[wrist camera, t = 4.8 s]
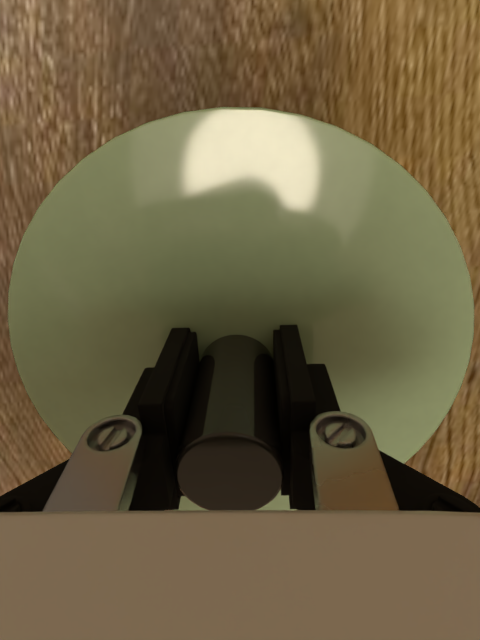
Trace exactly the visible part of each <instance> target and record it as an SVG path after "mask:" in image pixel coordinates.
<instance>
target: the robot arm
mask: <svg viewBox="0 0 480 640" xmlns="http://www.w3.org/2000/svg"><path fill="white" fill-rule="evenodd" d="M273 361H274V372H275V383H276V393H277V404H278V414H279V425H280V436H281V446H282V450H283V460H284V471H285V477H284V482H283V485H282V487H281V496H287V495H289V504H290V509H297V510H192V511H164V510H178V509H179V504H180V499H181V496H185V495H184V494H183V493H182V491H181V490H180V488H179V486H178V484H177V481H176V478H175V471H174V468H175V462H176V458H177V454H178V450H179V446H180V441H181V437H182V433H183V429H184V425H185V421H186V417H187V413H188V409H189V405H190V401H191V397H192V392H193V388H194V384H195V380H196V376H197V372H198V368H199V364H200V360H199V351H198V341H197V334H196V332H191V331H190V328H172V329H171V331H170V333H169V335H168V338H167V340H166V342H165V344H164V347H163V349H162V351H161V353H160V356H159V358H158V360H157V362H156V365H155V367H149V368H145V369H144V371H143V373H142V375H141V377H140V379H139V381H138V383H137V385H136V387H135V389H134V391H133V393H132V395H131V397H130V399H129V401H128V403H127V405H126V408H125V410H124V412H123V414H122V415H113V416H109V417H106V418H103V419H101V420H99V421H97V422H95V423H93V424H92V425H91V426H90V427H88V428H87V429H86V430H85V432H84V433H83V435H82V436H81V438H80V440H79V442H78V444H77V446H76V448H75V449H74V451H73V453H72V455H71V457H70V459H68V460H67V461H65V462H63V463H61V464H59V465H57V466H56V467H54V468H52V469H50V470H48V471H46V472H44V473H43V474H41V475H39V476H37V477H35V478H33V479H32V480H30V481H28V482H26V483H24V484H22V485H20V486H19V487H17V488H15V489H13V490H11V491H9V492H7V493H6V494H4V495H2V496H0V640H480V508H479V507H478V506H477V505H476V504H474V503H473V502H471V501H470V500H468V499H467V498H465V497H464V496H462V495H460V494H458V493H456V492H454V491H453V490H451V489H449V488H447V487H445V486H444V485H442V484H440V483H438V482H436V481H434V480H433V479H431V478H429V477H427V476H425V475H423V474H422V473H420V472H418V471H416V470H414V469H413V468H411V467H409V466H407V465H405V464H403V463H402V462H400V461H398V460H396V459H394V458H393V457H391V456H389V455H387V454H385V453H383V452H382V451H380V450H379V449H378V447H377V444H376V441H375V438H374V435H373V432H372V430H371V428H370V427H369V425H368V424H367V423H366V422H365V421H364V420H363V419H361V418H359V417H357V416H355V415H353V414H350V413H347V412H341V411H340V408H339V405H338V402H337V398H336V395H335V392H334V389H333V386H332V383H331V380H330V377H329V374H328V371H327V368H326V366H325V364H307V363H306V359H305V355H304V351H303V347H302V342H301V338H300V334H299V330H298V326H297V325H280V330H273Z"/></svg>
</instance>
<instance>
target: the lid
mask: <svg viewBox="0 0 480 640" xmlns="http://www.w3.org/2000/svg"><path fill="white" fill-rule="evenodd" d="M8 325H9V333H10V342H11V348H12V351H13V355H14V359H15V362H16V366H17V370H18V372H19V375H20V377H21V380H22V382H23V384H24V387H25V389H26V391H27V394H28V396H29V397H30V399H31V401H32V403H33V404H34V406H35V408H36V409H37V411H38V413H39V415H40V416H41V418H42V419H43V420H44V422H45V423H46V424H47V426H48V427H49V428H50V430H51V431H52V432H53V434H54V435H55V436H56V437H57V438H58V439H59V440H60V441H61V442H62V444H63V445H64V446H65V447H66V448H67V449H68V450H69V451H70V452H71V453H73V451H74V449H75V448H76V446H77V444H78V442H79V440H80V438H81V436H82V435H83V433H84V432H85V430H86V429H87V428H88V427H90V426H91V425H92V424H93V423H95V422H97V421H99V420H101V419H103V418H106V417H109V416H113V415H122V414H123V412H124V410H125V408H126V405H127V403H128V401H129V399H130V397H131V395H132V393H133V391H134V389H135V387H136V385H137V383H138V381H139V379H140V377H141V375H142V373H143V371H144V369H145V368H149V367H155V365H156V362H157V360H158V358H159V356H160V353H161V351H162V349H163V347H164V344H165V342H166V340H167V338H168V335H169V333H170V331H171V329H172V328H190V331H191V332H196V334H197V341H198V351H199V360H200V364H199V368H198V372H197V376H196V380H195V384H194V388H193V392H192V397H191V401H190V405H189V409H188V413H187V417H186V421H185V425H184V429H183V433H182V437H181V441H180V446H179V450H178V454H177V458H176V462H175V468H174V471H175V478H176V481H177V484H178V486H179V488H180V490H181V491H182V493H183V494H184V495H185V496H181V499H180V504H179V509H178V510H174V511H192V510H297V509H290V504H289V495H287V496H281V487H282V485H283V482H284V477H285V471H284V460H283V450H282V446H281V436H280V425H279V414H278V404H277V393H276V383H275V372H274V361H273V330H280V325H297V326H298V330H299V334H300V338H301V342H302V347H303V351H304V355H305V359H306V363H307V364H325V366H326V368H327V371H328V374H329V377H330V380H331V383H332V386H333V389H334V392H335V395H336V398H337V402H338V405H339V408H340V411H341V412H347V413H350V414H353V415H355V416H357V417H359V418H361V419H363V420H364V421H365V422H366V423H367V424H368V425H369V427H370V428H371V430H372V432H373V435H374V438H375V441H376V444H377V447H378V449H379V450H380V451H382V452H383V453H385V454H387V455H389V456H391V457H393V458H394V459H396V460H398V461H400V462H402V463H403V464H404V463H406V462H407V461H408V460H409V459H410V458H411V457H412V456H413V455H414V454H415V453H416V452H418V451H419V450H420V448H421V447H422V446H423V445H424V444H425V443H426V441H427V440H428V439H429V438H430V437H431V436H432V435H433V433H434V432H435V431H436V430H437V428H438V427H439V425H440V424H441V422H442V421H443V419H444V417H445V416H446V414H447V413H448V411H449V410H450V408H451V406H452V404H453V402H454V400H455V398H456V396H457V394H458V392H459V390H460V387H461V385H462V382H463V379H464V376H465V373H466V370H467V366H468V363H469V360H470V354H471V348H472V342H473V336H474V301H473V294H472V287H471V280H470V275H469V271H468V268H467V265H466V262H465V259H464V256H463V252H462V249H461V246H460V244H459V242H458V240H457V238H456V236H455V234H454V232H453V230H452V228H451V226H450V224H449V222H448V220H447V218H446V217H445V215H444V214H443V213H442V211H441V210H440V208H439V207H438V206H437V204H436V203H435V201H434V200H433V199H432V197H431V196H430V195H429V193H428V192H427V190H426V189H425V188H424V187H423V186H422V185H421V184H420V183H419V182H418V181H417V180H416V179H415V178H414V177H413V176H412V175H411V174H410V173H409V172H408V171H407V170H406V169H405V168H404V167H403V166H402V165H400V164H399V163H397V162H396V161H395V160H393V159H392V158H391V157H389V156H388V155H386V154H385V153H384V152H382V151H381V150H380V149H378V148H377V147H375V146H374V145H373V144H371V143H369V142H367V141H365V140H363V139H361V138H359V137H357V136H355V135H354V134H352V133H350V132H348V131H346V130H344V129H342V128H340V127H338V126H335V125H332V124H329V123H326V122H323V121H320V120H317V119H314V118H311V117H308V116H305V115H302V114H297V113H291V112H285V111H279V110H273V109H268V108H260V107H217V108H209V109H202V110H194V111H186V112H181V113H178V114H175V115H171V116H168V117H164V118H161V119H157V120H154V121H150V122H147V123H145V124H143V125H140V126H138V127H136V128H134V129H132V130H130V131H128V132H125V133H123V134H121V135H119V136H117V137H115V138H113V139H111V140H110V141H108V142H107V143H105V144H104V145H102V146H101V147H99V148H98V149H96V150H95V151H93V152H92V153H90V154H89V155H87V156H86V157H84V158H83V159H82V160H81V161H80V162H79V163H78V164H77V165H76V166H75V167H74V168H72V169H71V170H70V171H69V172H68V173H67V174H66V175H65V176H64V177H63V178H62V179H61V180H60V181H59V182H58V183H57V184H56V185H55V187H54V188H53V189H52V191H51V192H50V193H49V194H48V196H47V197H46V198H45V200H44V201H43V202H42V203H41V205H40V206H39V207H38V209H37V211H36V213H35V215H34V217H33V218H32V220H31V222H30V224H29V226H28V228H27V229H26V231H25V233H24V235H23V238H22V241H21V244H20V246H19V249H18V252H17V255H16V258H15V261H14V264H13V269H12V275H11V280H10V286H9V291H8Z"/></svg>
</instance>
